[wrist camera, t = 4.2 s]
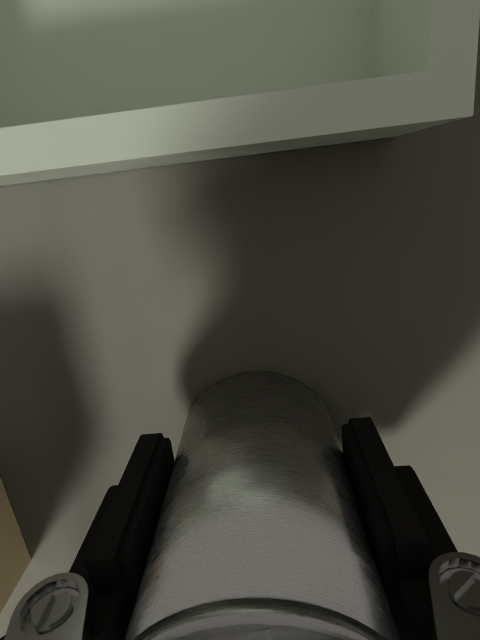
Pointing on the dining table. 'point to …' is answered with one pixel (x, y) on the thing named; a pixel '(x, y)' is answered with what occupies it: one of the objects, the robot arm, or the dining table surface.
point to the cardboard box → (10, 550)
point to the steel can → (260, 527)
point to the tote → (221, 78)
